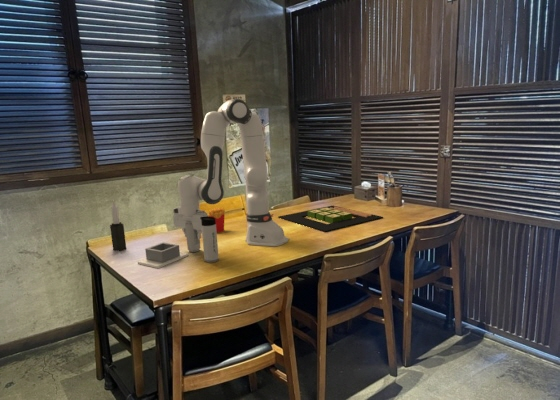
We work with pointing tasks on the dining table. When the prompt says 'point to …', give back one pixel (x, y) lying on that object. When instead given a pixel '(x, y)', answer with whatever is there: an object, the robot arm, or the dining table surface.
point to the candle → (117, 230)
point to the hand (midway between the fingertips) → (193, 237)
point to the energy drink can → (192, 238)
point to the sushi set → (330, 218)
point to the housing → (162, 255)
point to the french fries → (218, 218)
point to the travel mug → (209, 239)
